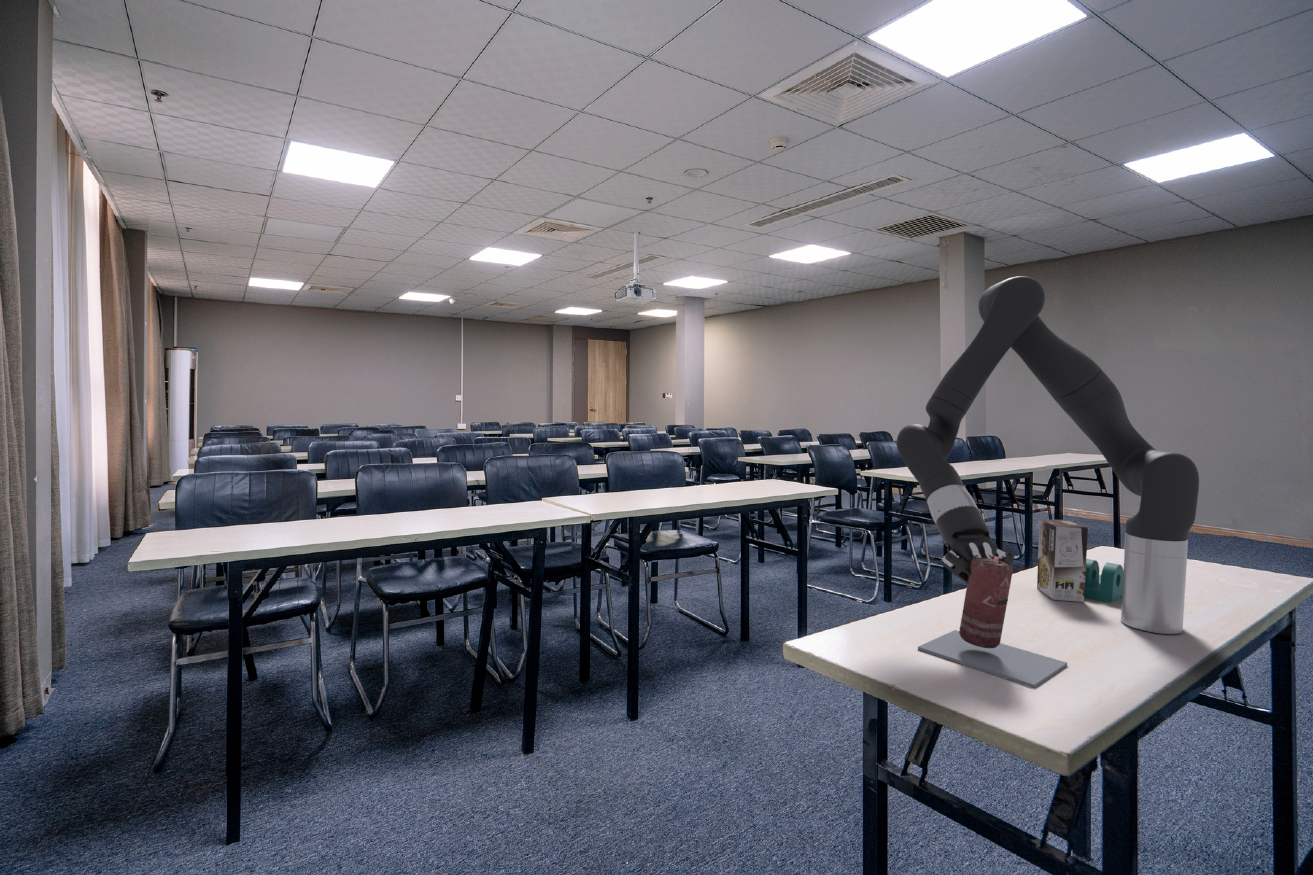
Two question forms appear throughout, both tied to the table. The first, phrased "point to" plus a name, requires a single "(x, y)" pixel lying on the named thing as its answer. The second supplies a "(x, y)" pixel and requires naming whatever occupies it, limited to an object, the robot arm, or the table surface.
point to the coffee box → (1062, 559)
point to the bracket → (1103, 581)
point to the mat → (996, 659)
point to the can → (985, 601)
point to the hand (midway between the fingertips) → (1000, 606)
